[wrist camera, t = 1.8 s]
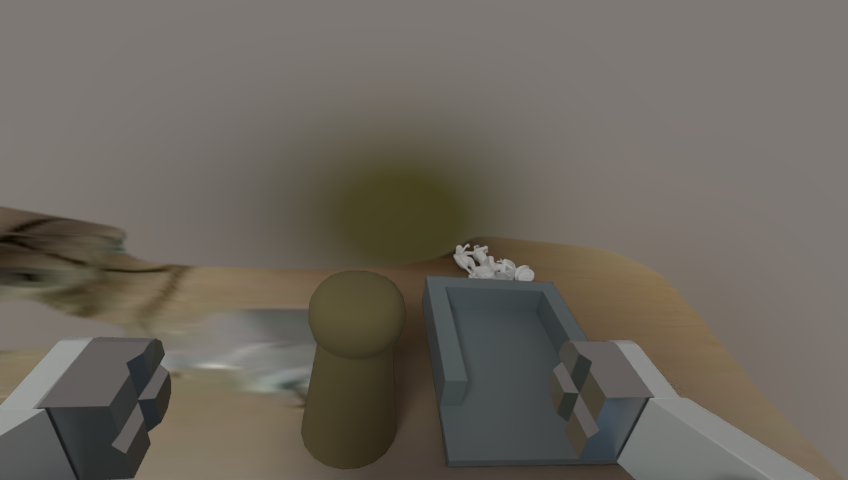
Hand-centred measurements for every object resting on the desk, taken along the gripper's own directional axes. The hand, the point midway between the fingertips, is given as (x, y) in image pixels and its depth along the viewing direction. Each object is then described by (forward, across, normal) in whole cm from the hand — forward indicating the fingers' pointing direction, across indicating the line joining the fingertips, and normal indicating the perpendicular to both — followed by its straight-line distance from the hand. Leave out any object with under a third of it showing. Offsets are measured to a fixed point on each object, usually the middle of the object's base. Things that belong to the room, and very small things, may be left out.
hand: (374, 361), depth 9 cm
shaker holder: (+17, -12, +18) cm, 27 cm away
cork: (+12, 0, +18) cm, 22 cm away
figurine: (+31, -14, +18) cm, 38 cm away
